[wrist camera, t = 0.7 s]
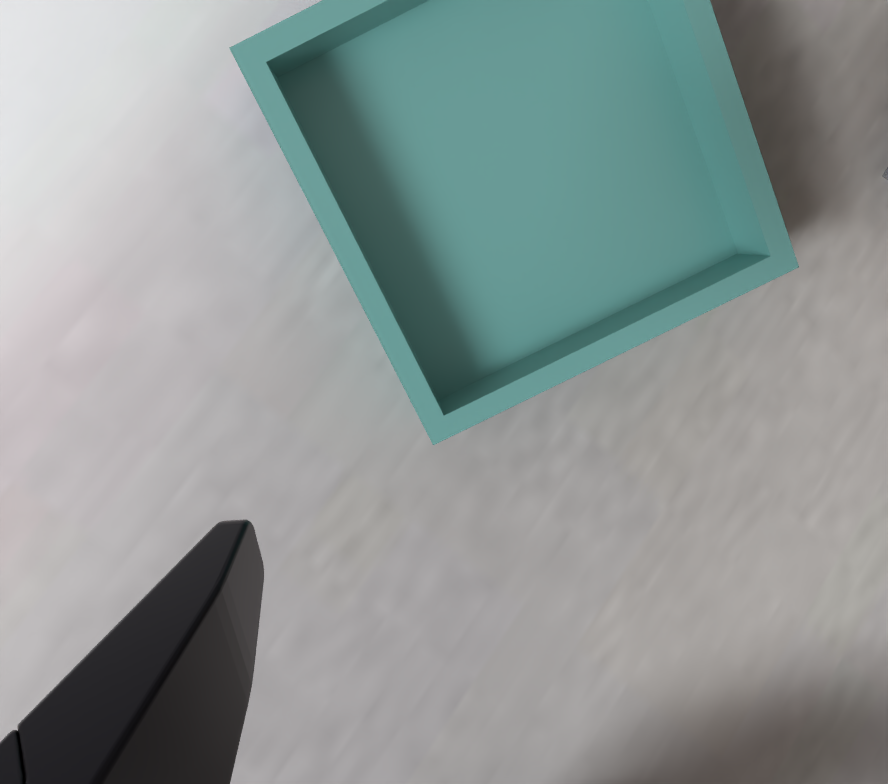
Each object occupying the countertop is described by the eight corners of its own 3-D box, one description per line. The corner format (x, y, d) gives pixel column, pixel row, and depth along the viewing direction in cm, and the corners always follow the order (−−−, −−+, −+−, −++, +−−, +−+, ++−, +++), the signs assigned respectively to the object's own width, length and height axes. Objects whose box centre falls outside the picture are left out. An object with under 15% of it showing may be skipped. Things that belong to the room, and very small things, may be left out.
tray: (748, 261, 24) (799, 267, 21) (427, 418, 24) (433, 445, 21) (616, -114, 21) (653, -168, 18) (250, 71, 21) (229, 47, 18)
